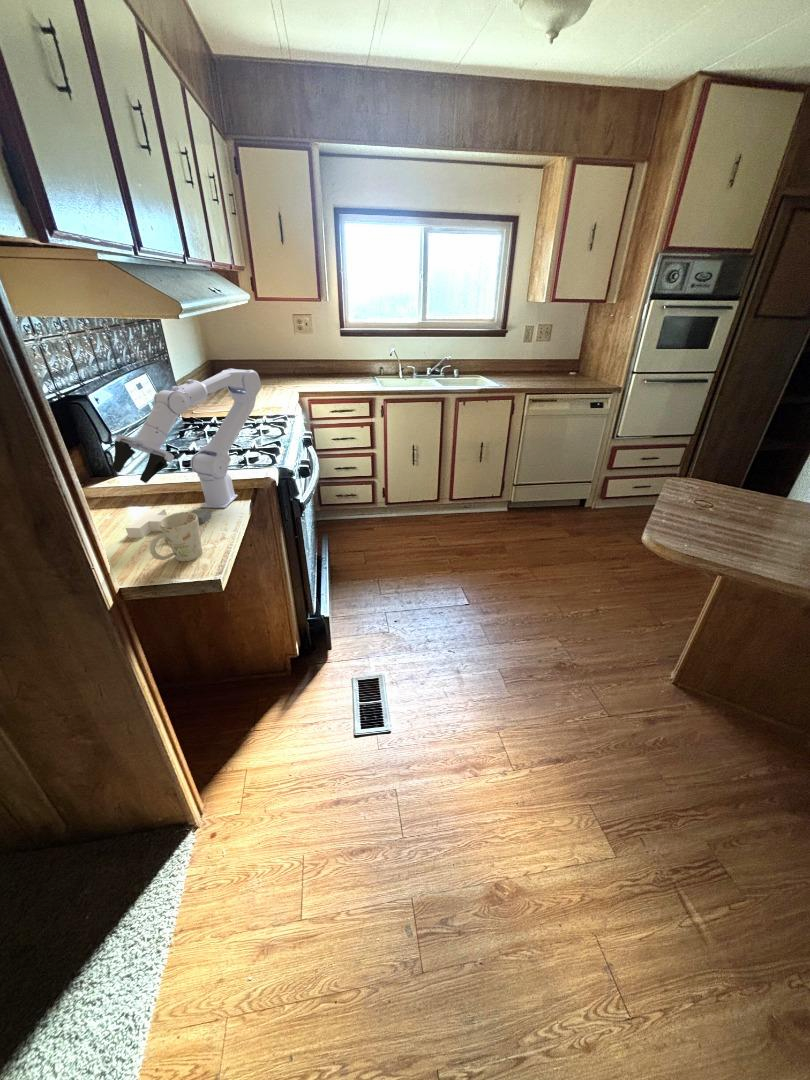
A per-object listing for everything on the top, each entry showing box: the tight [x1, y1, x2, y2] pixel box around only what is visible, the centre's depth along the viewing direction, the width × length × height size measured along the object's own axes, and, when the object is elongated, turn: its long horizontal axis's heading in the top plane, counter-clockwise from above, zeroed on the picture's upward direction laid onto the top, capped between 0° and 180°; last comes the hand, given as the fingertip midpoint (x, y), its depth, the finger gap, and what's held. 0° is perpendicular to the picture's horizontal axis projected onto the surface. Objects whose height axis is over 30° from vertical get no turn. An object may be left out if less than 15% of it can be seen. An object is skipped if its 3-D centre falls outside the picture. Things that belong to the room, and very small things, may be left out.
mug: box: [149, 511, 203, 562], centre depth 103 cm, size 8×13×10 cm, turn 149°
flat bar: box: [164, 509, 212, 543], centre depth 119 cm, size 16×5×2 cm, turn 176°
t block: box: [125, 508, 171, 539], centre depth 119 cm, size 12×11×3 cm
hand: (129, 476), depth 108 cm, fingers open, 7 cm apart
